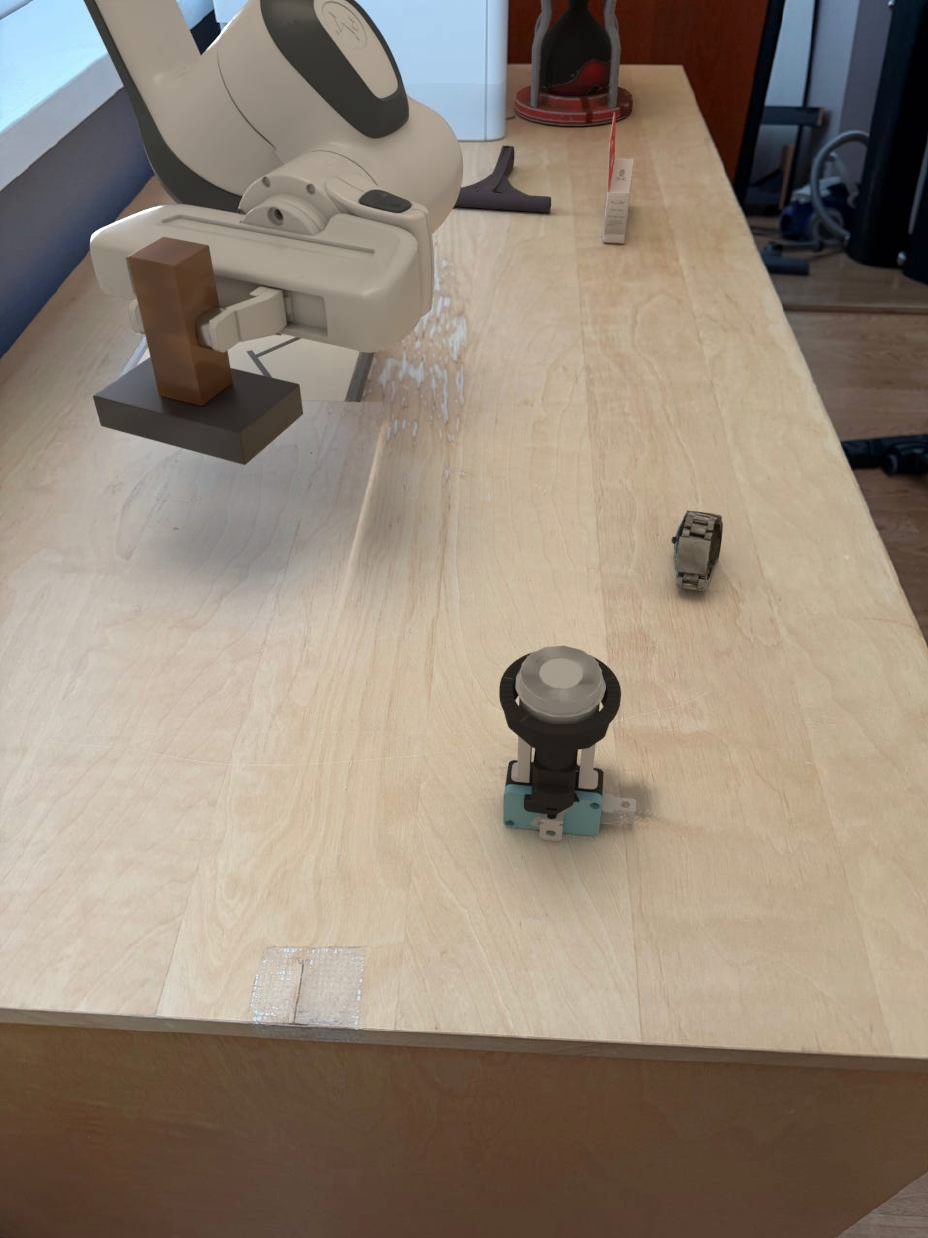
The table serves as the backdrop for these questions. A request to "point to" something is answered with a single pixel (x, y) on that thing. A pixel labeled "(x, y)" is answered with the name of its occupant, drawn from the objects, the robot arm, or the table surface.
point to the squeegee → (501, 190)
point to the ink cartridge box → (617, 194)
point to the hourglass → (575, 69)
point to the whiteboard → (295, 365)
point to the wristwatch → (697, 549)
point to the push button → (559, 743)
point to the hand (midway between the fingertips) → (173, 329)
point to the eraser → (191, 368)
